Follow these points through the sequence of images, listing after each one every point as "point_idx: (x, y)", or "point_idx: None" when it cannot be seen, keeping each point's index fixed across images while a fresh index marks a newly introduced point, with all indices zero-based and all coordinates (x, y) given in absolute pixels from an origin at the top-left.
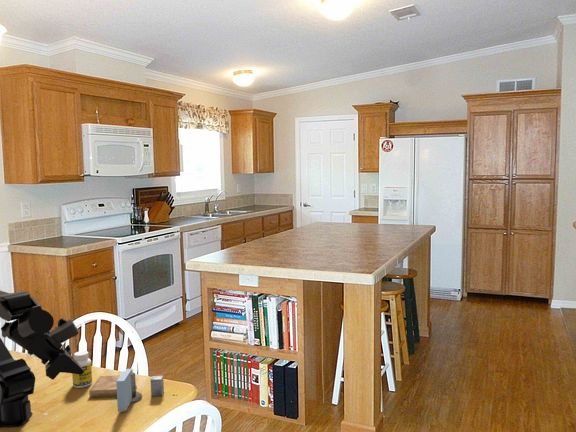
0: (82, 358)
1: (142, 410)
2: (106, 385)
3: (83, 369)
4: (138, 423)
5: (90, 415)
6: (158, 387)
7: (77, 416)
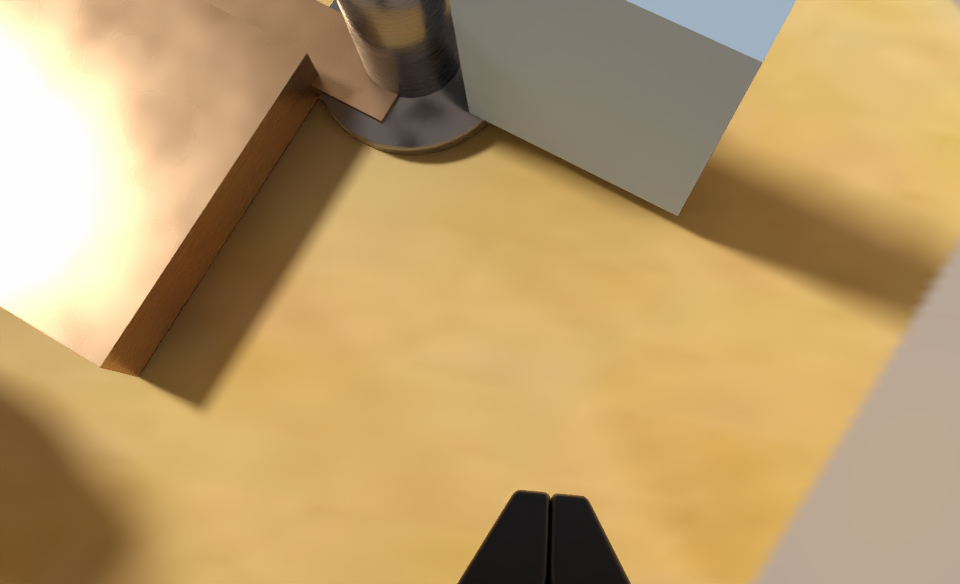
0: None
1: None
2: (97, 188)
3: (517, 501)
4: (948, 116)
5: (544, 450)
6: None
7: None
